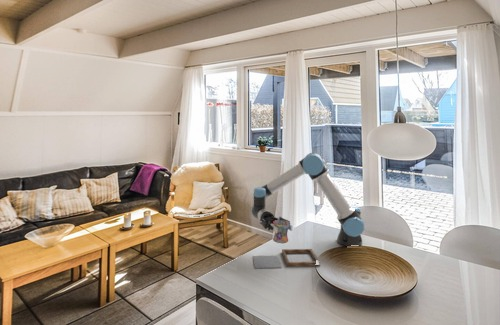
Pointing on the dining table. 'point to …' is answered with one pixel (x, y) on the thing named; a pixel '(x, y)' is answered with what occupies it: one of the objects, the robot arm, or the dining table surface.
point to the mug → (281, 231)
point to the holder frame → (299, 264)
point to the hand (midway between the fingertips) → (284, 229)
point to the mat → (266, 262)
